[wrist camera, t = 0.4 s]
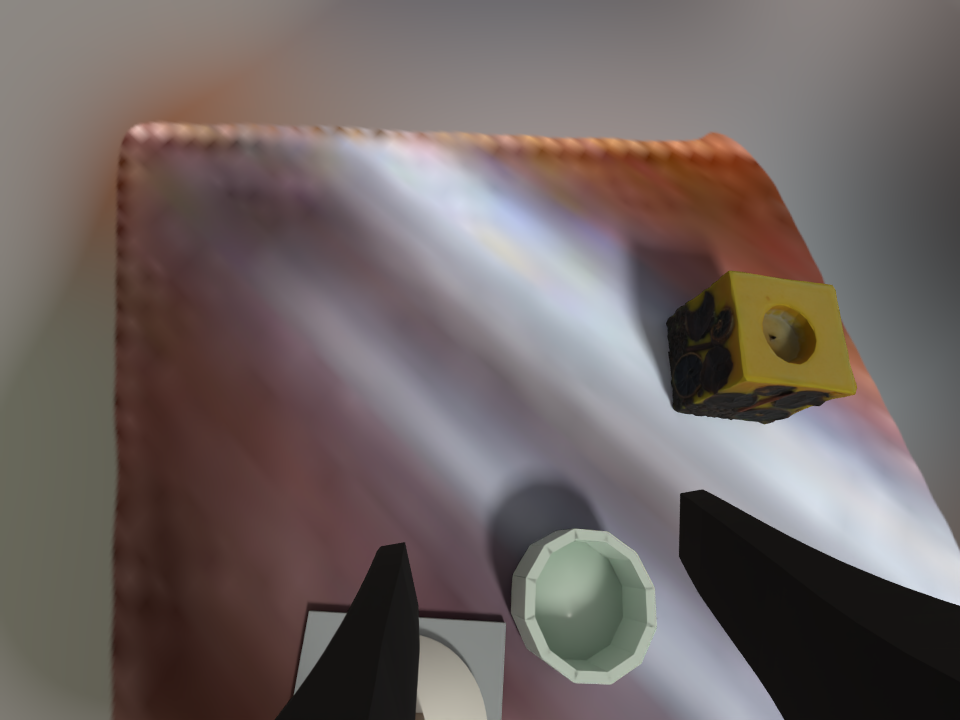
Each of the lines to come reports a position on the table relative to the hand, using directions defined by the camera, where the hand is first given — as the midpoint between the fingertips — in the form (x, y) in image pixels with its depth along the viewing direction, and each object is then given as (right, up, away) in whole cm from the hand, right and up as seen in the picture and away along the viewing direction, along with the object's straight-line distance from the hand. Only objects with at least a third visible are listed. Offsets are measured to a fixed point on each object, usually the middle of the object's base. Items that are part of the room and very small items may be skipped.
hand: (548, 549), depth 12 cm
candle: (+21, +4, +36) cm, 42 cm away
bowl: (+5, -14, +25) cm, 29 cm away
